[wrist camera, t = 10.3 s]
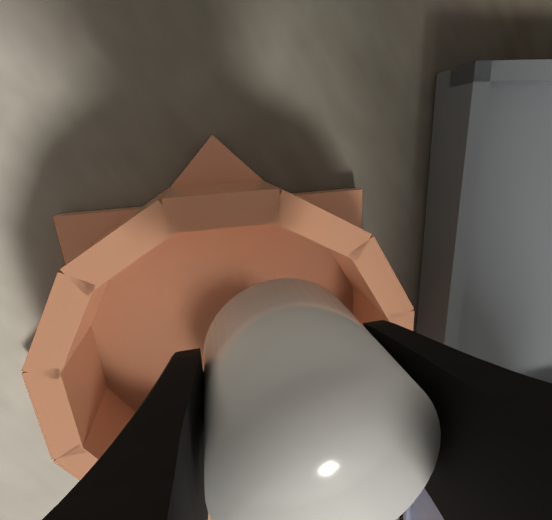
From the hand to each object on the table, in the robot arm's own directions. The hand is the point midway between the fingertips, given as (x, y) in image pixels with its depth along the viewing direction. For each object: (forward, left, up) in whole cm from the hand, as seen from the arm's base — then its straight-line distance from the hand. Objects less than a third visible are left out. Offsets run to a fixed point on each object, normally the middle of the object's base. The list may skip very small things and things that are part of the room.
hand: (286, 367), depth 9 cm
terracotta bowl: (-3, +1, -9) cm, 9 cm away
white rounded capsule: (0, 0, -1) cm, 1 cm away
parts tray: (-2, -17, -9) cm, 19 cm away
